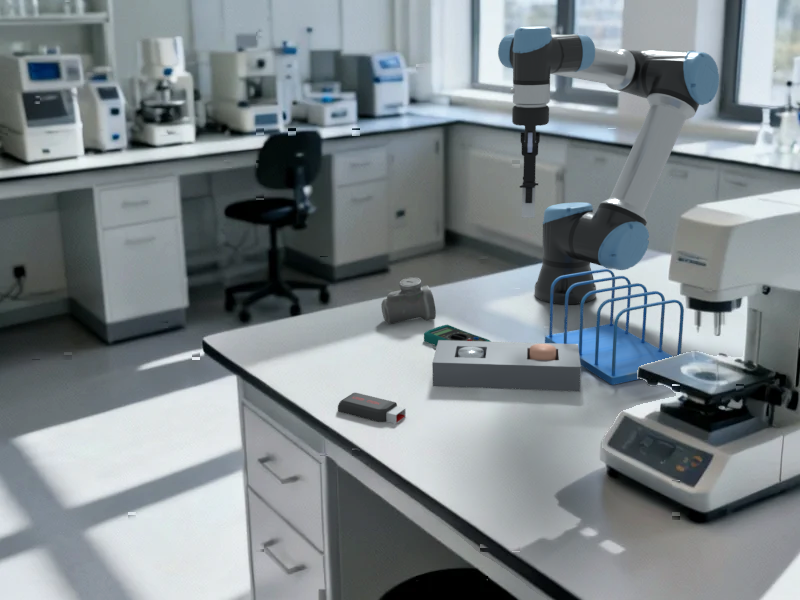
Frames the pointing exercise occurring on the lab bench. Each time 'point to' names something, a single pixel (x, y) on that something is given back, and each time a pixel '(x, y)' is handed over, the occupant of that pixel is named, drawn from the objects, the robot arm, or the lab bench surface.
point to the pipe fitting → (409, 302)
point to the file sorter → (612, 334)
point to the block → (506, 367)
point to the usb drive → (371, 408)
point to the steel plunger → (471, 352)
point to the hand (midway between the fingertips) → (528, 216)
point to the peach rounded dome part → (542, 352)
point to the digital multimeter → (449, 335)
